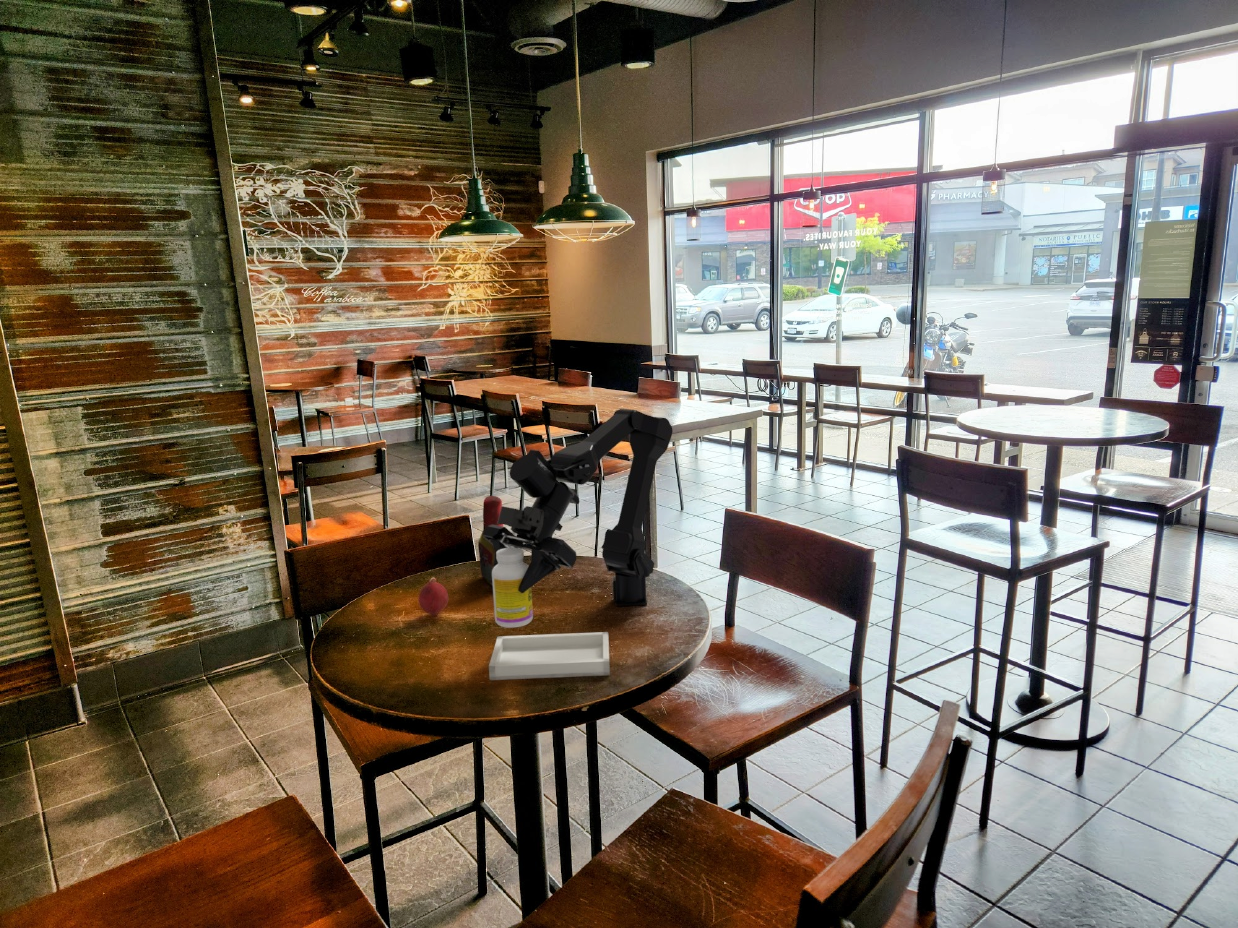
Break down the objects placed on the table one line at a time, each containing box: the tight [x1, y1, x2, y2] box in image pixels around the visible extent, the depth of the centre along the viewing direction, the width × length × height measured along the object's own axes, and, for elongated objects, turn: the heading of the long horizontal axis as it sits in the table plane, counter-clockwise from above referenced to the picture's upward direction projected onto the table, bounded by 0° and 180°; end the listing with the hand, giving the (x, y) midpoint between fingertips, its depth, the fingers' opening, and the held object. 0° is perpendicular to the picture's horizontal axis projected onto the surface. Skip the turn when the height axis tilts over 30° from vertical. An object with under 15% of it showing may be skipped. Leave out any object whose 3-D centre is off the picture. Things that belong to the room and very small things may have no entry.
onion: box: [418, 577, 449, 617], centre depth 158 cm, size 6×6×8 cm
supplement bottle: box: [492, 548, 534, 629], centre depth 137 cm, size 7×7×13 cm
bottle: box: [477, 495, 504, 587], centre depth 176 cm, size 12×6×20 cm, turn 17°
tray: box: [488, 631, 611, 681], centre depth 137 cm, size 20×12×2 cm, turn 92°
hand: (506, 587), depth 136 cm, fingers closed on supplement bottle, 7 cm apart
